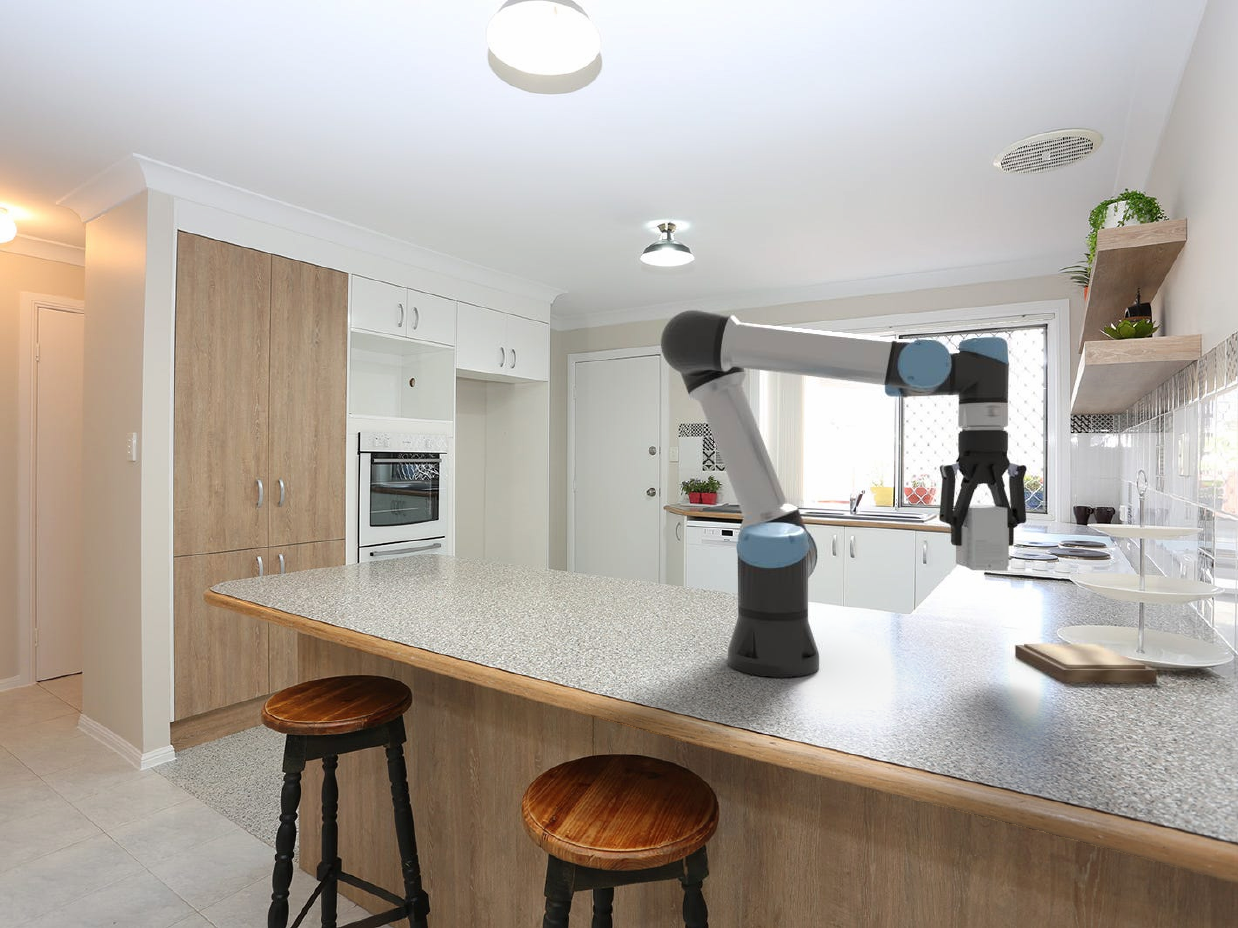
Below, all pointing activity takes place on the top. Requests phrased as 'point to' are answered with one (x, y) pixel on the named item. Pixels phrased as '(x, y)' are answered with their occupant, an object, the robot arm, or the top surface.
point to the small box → (987, 537)
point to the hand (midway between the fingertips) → (981, 564)
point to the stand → (1085, 663)
